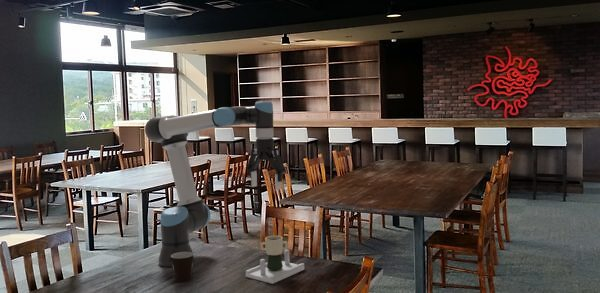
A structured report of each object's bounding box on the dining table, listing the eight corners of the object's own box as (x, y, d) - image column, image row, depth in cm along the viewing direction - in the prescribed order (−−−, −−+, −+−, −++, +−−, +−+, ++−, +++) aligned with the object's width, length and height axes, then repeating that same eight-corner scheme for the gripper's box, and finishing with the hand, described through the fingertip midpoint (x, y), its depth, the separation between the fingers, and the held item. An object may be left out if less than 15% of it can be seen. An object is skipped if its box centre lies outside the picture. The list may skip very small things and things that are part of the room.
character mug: (288, 265, 218) (287, 234, 217) (288, 271, 211) (287, 239, 210) (261, 267, 217) (260, 236, 216) (261, 272, 210) (260, 240, 209)
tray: (245, 276, 210) (245, 258, 210) (278, 263, 226) (277, 246, 225) (272, 283, 202) (271, 264, 201) (304, 269, 218) (303, 251, 217)
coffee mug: (189, 284, 204) (188, 258, 203) (168, 283, 206) (167, 257, 205) (200, 274, 215) (199, 250, 214) (181, 273, 217) (179, 249, 216)
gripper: (293, 138, 219) (294, 189, 221) (249, 136, 234) (250, 183, 236) (282, 139, 213) (283, 191, 215) (237, 137, 228) (238, 186, 230)
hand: (266, 187), depth 226 cm, fingers open, 13 cm apart
